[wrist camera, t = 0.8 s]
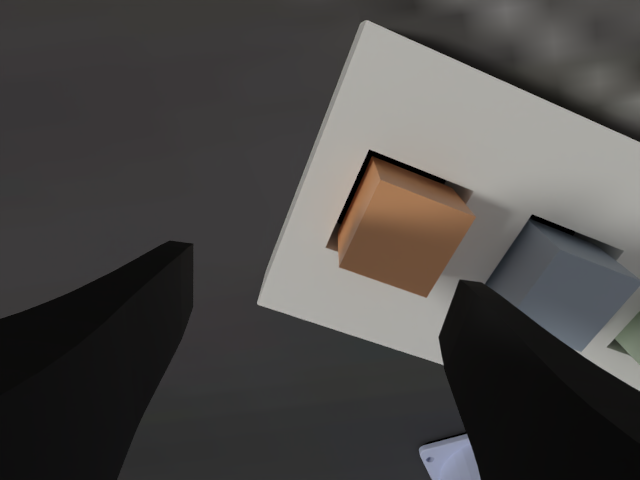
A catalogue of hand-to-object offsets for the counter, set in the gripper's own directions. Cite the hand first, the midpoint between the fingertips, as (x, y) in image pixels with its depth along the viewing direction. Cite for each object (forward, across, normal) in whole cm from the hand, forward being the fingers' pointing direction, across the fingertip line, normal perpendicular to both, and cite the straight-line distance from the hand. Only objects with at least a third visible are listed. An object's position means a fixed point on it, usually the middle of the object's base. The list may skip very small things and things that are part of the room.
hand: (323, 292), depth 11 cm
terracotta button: (+7, -3, 0) cm, 7 cm away
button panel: (+8, -10, +2) cm, 13 cm away
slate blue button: (+6, -10, +2) cm, 12 cm away
